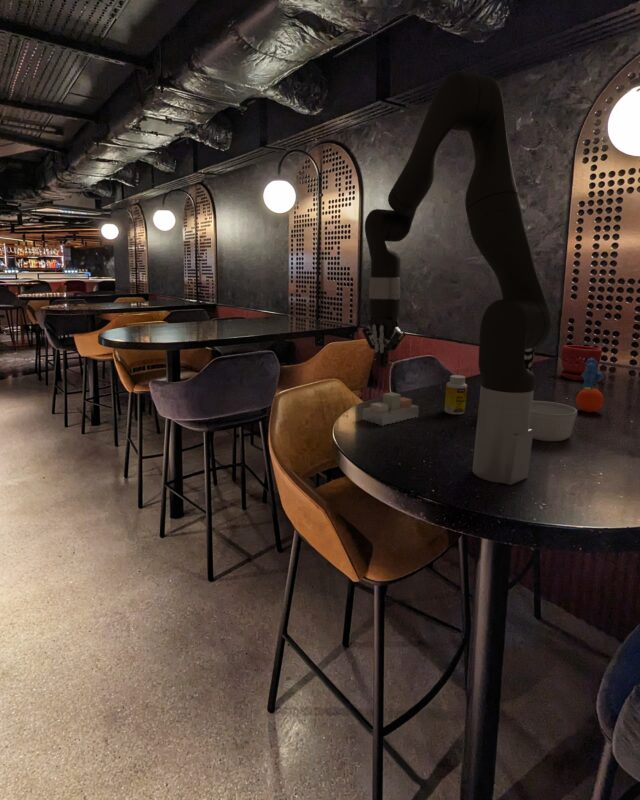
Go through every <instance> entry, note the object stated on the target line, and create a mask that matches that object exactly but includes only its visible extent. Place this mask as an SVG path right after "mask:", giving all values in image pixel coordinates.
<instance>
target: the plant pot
mask: <svg viewBox="0 0 640 800" xmlns="http://www.w3.org/2000/svg"><path fill="white" fill-rule="evenodd" d="M602 352H603V349H602V348H600V347H594V346H586V345H585V346H584V345H575V344H574V345H571V344H569V345H567V344H566V345H563V346H562V350H561V358H560V360H561V367H562V370H561V371H560V374H561V376H562V377H564V378H566V379H570V380H572V381H574V380H575V381H584V379H583V377H582V375H581V374H582V373H584V372H585V369H586V368H585V366H586V361H587V360H588V359H590V358H594V359H595V360H596V362H597V365H596V369H597V370H598V366H599V364H600V361H601V357H602ZM583 360H584V361H583Z"/></svg>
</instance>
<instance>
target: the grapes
mask: <svg viewBox="0 0 640 800" xmlns="http://www.w3.org/2000/svg"><path fill="white" fill-rule="evenodd" d="M596 365H597V362H596V360H595V359H594V358H590V359H588V360H587V361H586V366H585V368H586V369H585V372H584V373H582V374H581V375H582V377H583V379H584V380H583V383H582V385H581V388H582V389H581V390H583V389H585V388H584V387H589V388H591V387H592V388H594V386H595V385H594V384H596V382H600V381H602V380H603V379H604V378H605V376H604V374H603V373H602V372H601V371H598V368H597V369H596Z"/></svg>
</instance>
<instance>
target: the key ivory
mask: <svg viewBox="0 0 640 800" xmlns="http://www.w3.org/2000/svg"><path fill="white" fill-rule="evenodd" d="M369 407H370V410H371V411H374V412H377V413H382V412H386V411H388V404H384V403H383V402H380V401H379V402H374V403H370V406H369Z"/></svg>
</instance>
